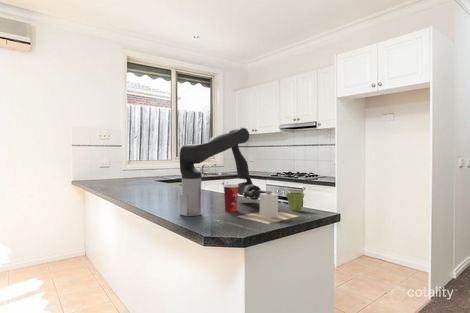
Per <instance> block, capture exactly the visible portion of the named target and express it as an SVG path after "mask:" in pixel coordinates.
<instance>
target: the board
mask: <svg viewBox="0 0 470 313" xmlns="http://www.w3.org/2000/svg"><path fill="white" fill-rule="evenodd" d="M236 217H238V218H240V219H241V218H242V219H244V220H245V219H246V220H249V221H254V222H257V223H258V222H259V223H263V224H265V225H270V224H273V223H278V222H282V221H285V220H290V219H294V218H298V217H299V215H296V214H292V213H286V212H280V211H278V217H276V218H263V217H262V216H260V211H258V212H253V213H252V212H251V213H247V214H243V215H237V216H236Z"/></svg>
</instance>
